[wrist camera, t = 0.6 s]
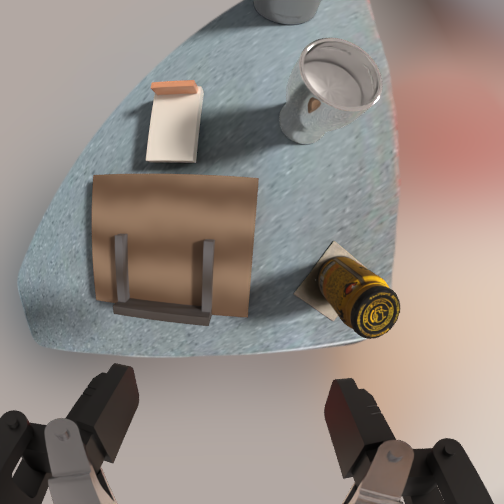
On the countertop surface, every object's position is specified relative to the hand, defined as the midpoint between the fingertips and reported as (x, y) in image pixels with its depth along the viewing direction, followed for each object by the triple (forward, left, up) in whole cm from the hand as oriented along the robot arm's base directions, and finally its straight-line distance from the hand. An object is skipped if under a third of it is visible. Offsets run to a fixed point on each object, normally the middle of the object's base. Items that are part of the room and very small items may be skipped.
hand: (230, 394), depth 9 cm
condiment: (+3, +12, -25) cm, 28 cm away
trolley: (-15, -9, -24) cm, 30 cm away
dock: (-1, -9, -24) cm, 26 cm away
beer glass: (-17, +6, -25) cm, 31 cm away
